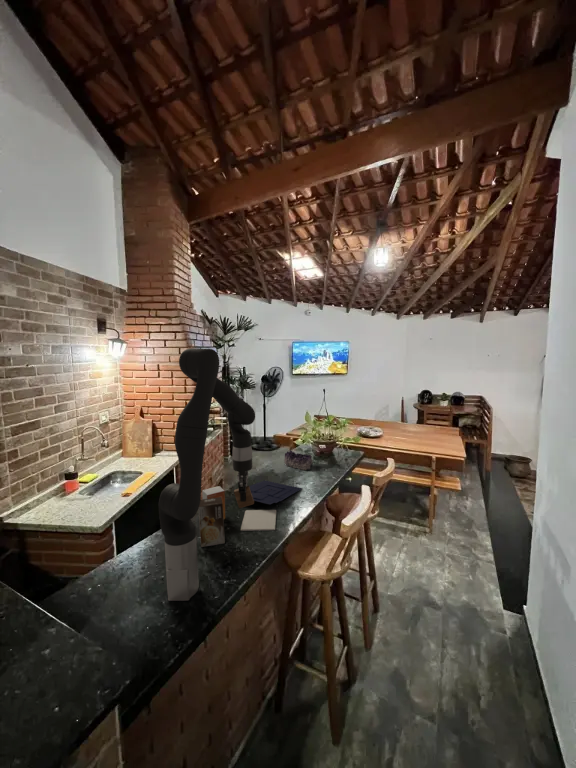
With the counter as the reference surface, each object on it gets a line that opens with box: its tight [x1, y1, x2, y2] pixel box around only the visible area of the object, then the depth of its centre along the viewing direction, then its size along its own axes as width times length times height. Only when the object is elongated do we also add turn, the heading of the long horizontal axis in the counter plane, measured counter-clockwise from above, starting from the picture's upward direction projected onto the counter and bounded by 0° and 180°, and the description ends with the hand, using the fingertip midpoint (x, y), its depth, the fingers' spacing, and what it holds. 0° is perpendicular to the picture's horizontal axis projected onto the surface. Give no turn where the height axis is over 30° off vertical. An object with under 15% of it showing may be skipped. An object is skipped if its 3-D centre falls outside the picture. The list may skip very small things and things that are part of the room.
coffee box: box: [198, 497, 226, 548], centre depth 126 cm, size 9×6×16 cm
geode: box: [283, 450, 313, 471], centre depth 207 cm, size 20×12×10 cm, turn 60°
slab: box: [233, 485, 255, 509], centre depth 129 cm, size 2×6×7 cm, turn 92°
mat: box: [240, 509, 277, 532], centre depth 142 cm, size 16×14×1 cm
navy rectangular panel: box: [233, 479, 303, 505], centre depth 166 cm, size 24×30×4 cm
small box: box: [201, 485, 226, 520], centre depth 144 cm, size 8×6×13 cm
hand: (243, 499), depth 129 cm, fingers closed on slab, 1 cm apart
